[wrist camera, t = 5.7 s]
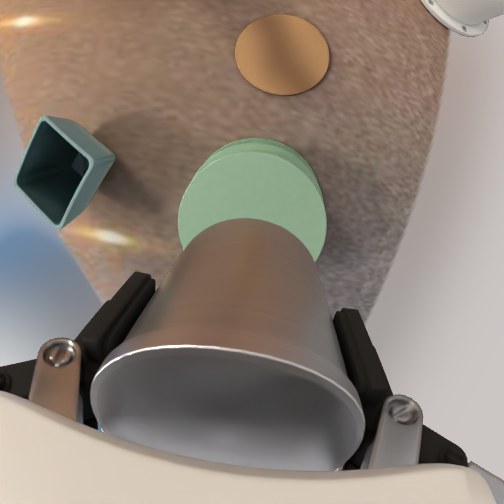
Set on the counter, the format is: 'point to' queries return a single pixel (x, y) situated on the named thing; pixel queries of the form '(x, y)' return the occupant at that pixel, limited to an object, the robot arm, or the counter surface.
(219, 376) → the silver cup
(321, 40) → the cork coaster
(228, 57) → the counter surface
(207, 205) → the green stepped cylinder
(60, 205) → the flower pot
